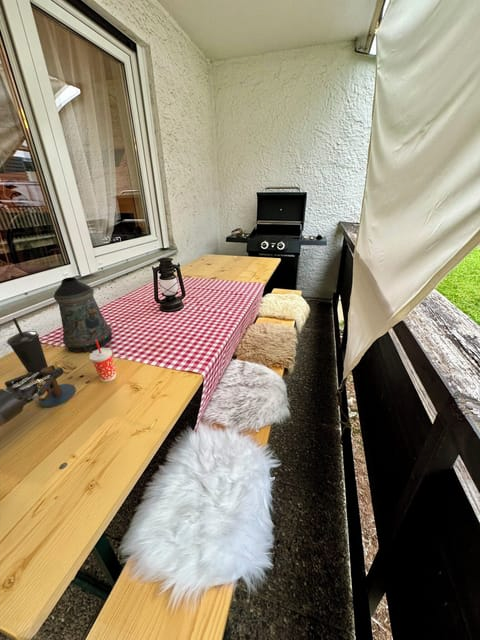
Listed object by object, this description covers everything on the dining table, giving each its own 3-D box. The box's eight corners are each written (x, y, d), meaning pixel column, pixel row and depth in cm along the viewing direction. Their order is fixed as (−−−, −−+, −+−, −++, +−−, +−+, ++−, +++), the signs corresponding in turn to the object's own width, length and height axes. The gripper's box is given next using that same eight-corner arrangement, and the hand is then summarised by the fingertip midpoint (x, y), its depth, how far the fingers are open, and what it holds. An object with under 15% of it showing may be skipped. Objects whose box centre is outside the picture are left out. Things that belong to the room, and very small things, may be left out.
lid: (31, 403, 72) (17, 376, 68) (60, 382, 80) (49, 357, 75) (55, 411, 70) (42, 383, 65) (82, 388, 77) (72, 362, 73)
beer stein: (89, 357, 91) (66, 291, 79) (49, 348, 97) (22, 284, 85) (122, 334, 105) (106, 274, 93) (85, 327, 111) (66, 270, 99)
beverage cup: (97, 374, 83) (84, 337, 76) (118, 368, 85) (107, 332, 79) (97, 386, 78) (83, 347, 71) (119, 380, 80) (107, 342, 74)
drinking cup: (58, 370, 85) (35, 316, 76) (32, 384, 79) (4, 327, 70) (46, 363, 88) (22, 310, 79) (21, 375, 83) (-8, 320, 73)
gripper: (3, 409, 55) (72, 362, 70) (-39, 395, 59) (35, 353, 74) (18, 433, 59) (81, 383, 73) (-22, 418, 63) (45, 374, 77)
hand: (57, 368), depth 73 cm, fingers closed on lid, 2 cm apart
